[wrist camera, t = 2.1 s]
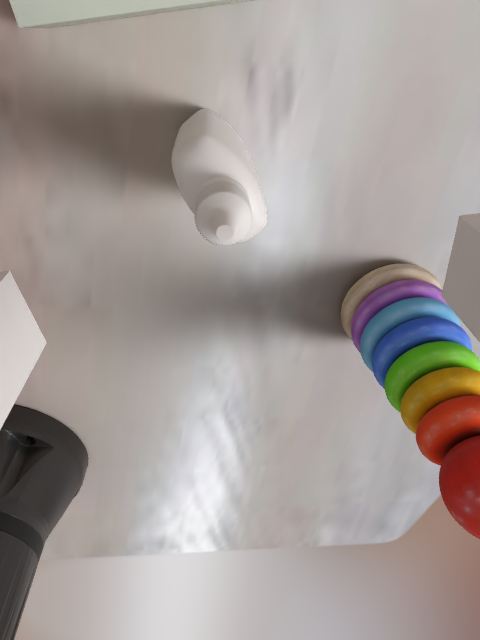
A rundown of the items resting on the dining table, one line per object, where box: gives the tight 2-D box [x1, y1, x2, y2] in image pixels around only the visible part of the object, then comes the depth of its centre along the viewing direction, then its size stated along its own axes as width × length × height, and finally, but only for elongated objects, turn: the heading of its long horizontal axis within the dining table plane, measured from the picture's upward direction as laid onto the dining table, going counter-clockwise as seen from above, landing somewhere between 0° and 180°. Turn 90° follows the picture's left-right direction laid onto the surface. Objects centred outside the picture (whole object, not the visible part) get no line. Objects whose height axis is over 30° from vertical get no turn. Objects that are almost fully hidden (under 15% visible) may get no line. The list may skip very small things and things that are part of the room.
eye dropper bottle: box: [171, 108, 268, 245], centre depth 20 cm, size 4×6×12 cm
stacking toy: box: [341, 264, 480, 539], centre depth 25 cm, size 8×8×19 cm
